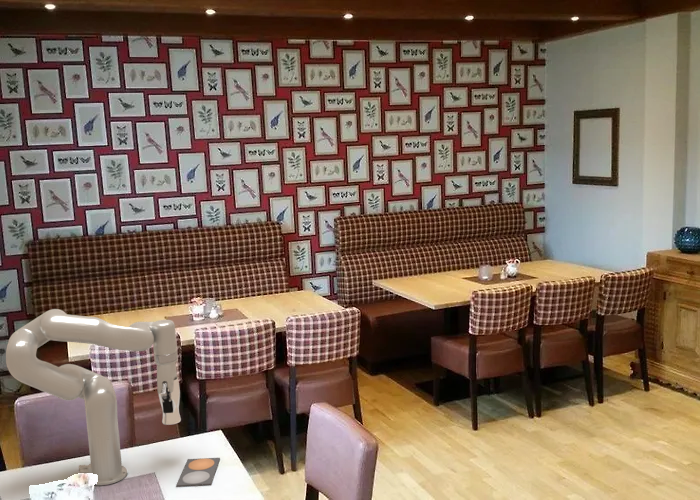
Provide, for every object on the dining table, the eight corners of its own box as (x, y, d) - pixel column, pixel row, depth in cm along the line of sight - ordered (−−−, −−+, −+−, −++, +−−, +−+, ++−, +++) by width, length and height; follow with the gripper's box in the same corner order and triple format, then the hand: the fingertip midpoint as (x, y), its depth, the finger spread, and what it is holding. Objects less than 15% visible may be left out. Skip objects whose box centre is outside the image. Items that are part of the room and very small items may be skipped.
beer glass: (177, 425, 236) (173, 382, 234) (157, 425, 237) (153, 382, 235) (185, 417, 243) (182, 375, 241) (166, 417, 244) (162, 375, 242)
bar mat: (176, 487, 225) (176, 484, 225) (187, 460, 244) (187, 458, 244) (211, 485, 225) (210, 483, 225) (220, 459, 244) (219, 457, 244)
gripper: (160, 350, 245) (164, 400, 248) (148, 366, 228) (153, 419, 231) (182, 349, 245) (186, 398, 248) (172, 364, 228) (176, 417, 231)
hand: (170, 408), depth 239 cm, fingers closed on beer glass, 6 cm apart
